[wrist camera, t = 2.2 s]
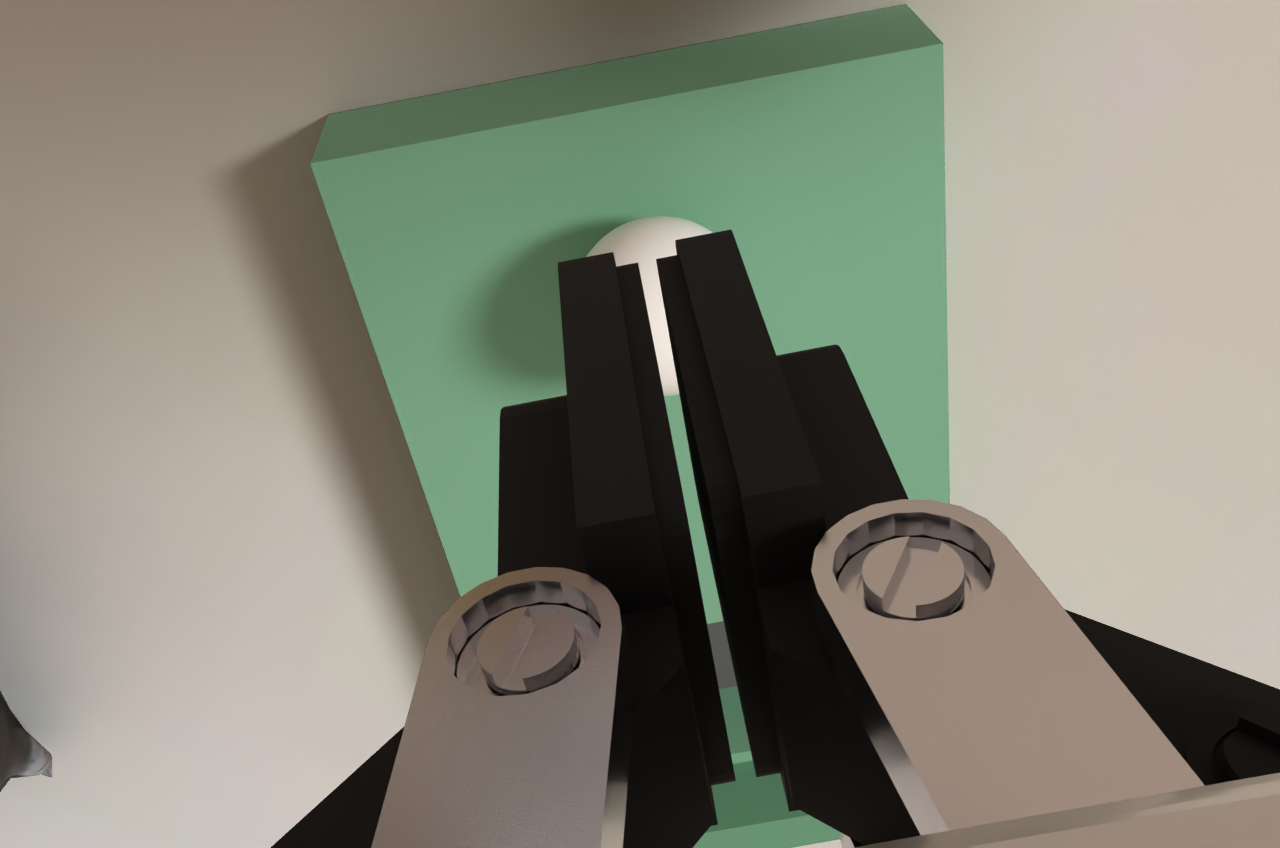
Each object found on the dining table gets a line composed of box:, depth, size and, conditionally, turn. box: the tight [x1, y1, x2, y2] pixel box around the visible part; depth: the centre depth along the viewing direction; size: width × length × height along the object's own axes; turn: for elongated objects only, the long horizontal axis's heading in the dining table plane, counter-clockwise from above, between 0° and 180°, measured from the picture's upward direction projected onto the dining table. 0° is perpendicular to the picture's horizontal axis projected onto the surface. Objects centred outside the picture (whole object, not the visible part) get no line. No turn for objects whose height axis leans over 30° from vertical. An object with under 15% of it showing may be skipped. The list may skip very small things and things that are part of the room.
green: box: [310, 4, 950, 848], centre depth 33 cm, size 14×24×5 cm, turn 9°
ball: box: [586, 216, 713, 396], centre depth 26 cm, size 4×4×4 cm
